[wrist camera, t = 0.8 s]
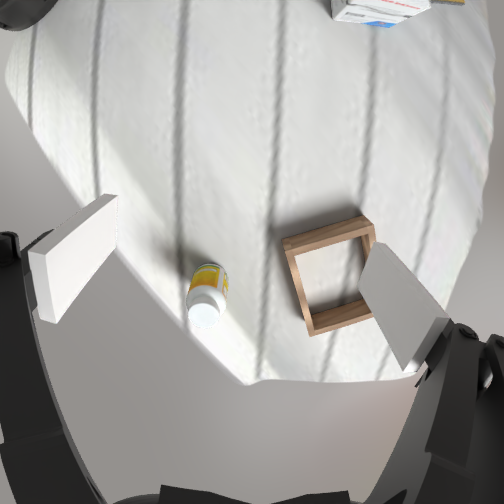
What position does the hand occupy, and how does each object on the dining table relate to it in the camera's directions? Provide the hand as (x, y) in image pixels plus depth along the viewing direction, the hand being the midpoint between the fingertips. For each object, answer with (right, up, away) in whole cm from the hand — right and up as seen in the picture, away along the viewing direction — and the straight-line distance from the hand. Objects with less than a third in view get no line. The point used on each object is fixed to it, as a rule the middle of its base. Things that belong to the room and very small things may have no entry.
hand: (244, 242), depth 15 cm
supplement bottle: (-6, -4, +32) cm, 32 cm away
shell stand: (+13, -4, +32) cm, 34 cm away
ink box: (+15, +32, +15) cm, 39 cm away
